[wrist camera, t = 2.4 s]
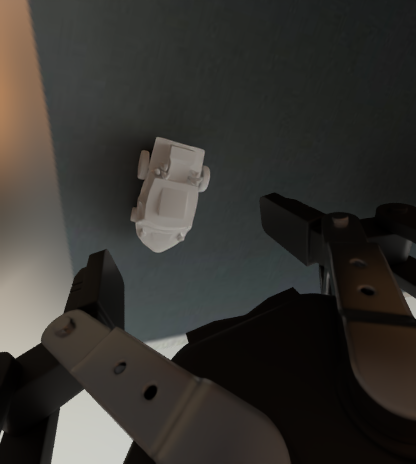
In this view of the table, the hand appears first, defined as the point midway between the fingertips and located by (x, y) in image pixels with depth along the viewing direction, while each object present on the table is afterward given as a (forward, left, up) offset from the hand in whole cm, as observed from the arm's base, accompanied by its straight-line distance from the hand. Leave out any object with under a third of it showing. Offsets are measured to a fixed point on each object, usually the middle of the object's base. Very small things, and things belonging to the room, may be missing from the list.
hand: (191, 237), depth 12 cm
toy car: (0, 0, -7) cm, 7 cm away
